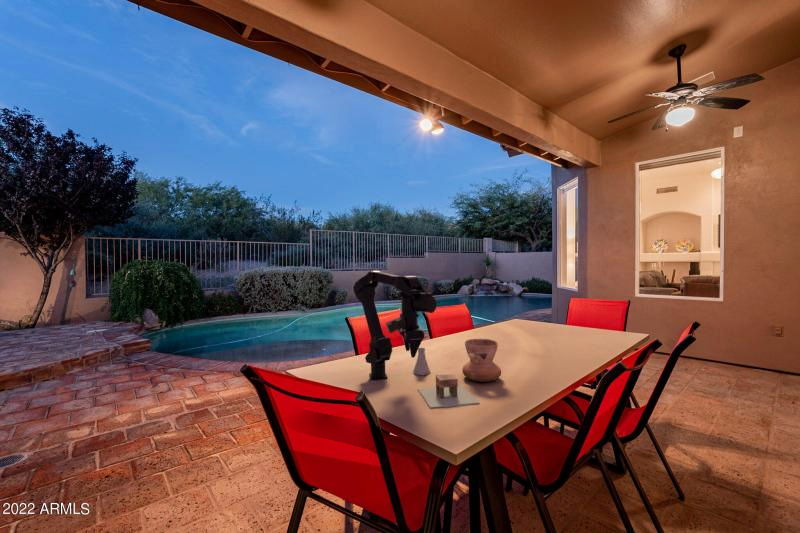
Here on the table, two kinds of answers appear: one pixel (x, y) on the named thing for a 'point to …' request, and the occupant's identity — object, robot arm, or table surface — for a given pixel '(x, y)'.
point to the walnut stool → (446, 384)
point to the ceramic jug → (481, 360)
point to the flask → (421, 363)
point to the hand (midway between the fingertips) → (410, 354)
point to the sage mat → (447, 397)
